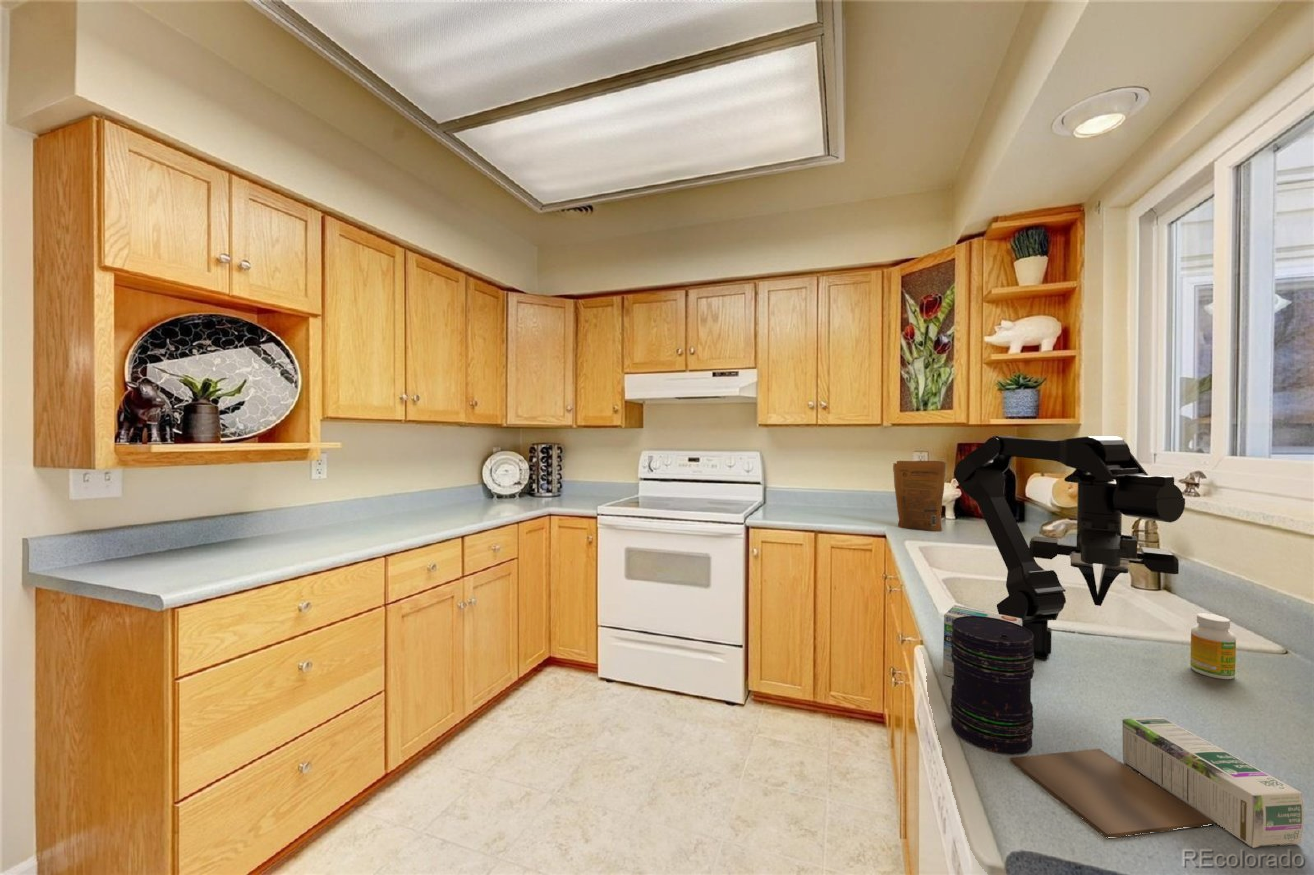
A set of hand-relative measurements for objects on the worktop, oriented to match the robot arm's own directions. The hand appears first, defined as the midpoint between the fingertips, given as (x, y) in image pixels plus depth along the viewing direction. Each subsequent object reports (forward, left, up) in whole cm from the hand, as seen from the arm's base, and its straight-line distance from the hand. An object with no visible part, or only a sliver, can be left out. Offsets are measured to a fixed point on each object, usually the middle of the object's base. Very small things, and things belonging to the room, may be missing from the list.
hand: (1097, 605), depth 89 cm
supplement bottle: (+16, +16, -13) cm, 26 cm away
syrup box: (+4, -23, -10) cm, 25 cm away
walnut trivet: (-1, -33, -13) cm, 36 cm away
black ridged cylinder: (-12, -28, -13) cm, 33 cm away
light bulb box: (-16, -10, -13) cm, 23 cm away
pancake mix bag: (-52, +121, -13) cm, 132 cm away
